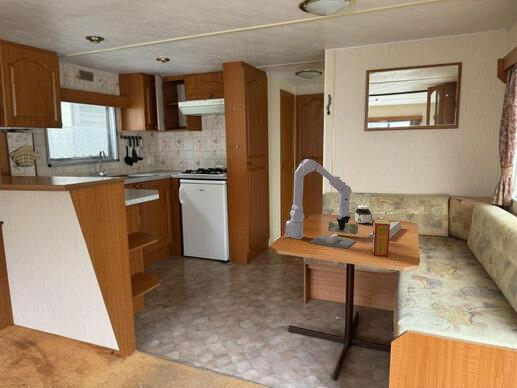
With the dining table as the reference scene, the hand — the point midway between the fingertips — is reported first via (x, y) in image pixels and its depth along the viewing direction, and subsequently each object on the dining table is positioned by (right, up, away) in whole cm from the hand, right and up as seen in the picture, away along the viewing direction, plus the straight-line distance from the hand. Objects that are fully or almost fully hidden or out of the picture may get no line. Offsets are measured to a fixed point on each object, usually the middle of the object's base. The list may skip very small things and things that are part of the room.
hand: (343, 229), depth 208 cm
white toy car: (+22, 0, +32) cm, 39 cm away
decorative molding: (+27, -4, +8) cm, 28 cm away
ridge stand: (-8, -6, -13) cm, 16 cm away
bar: (0, -1, 0) cm, 2 cm away
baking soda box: (+10, -9, -32) cm, 34 cm away
